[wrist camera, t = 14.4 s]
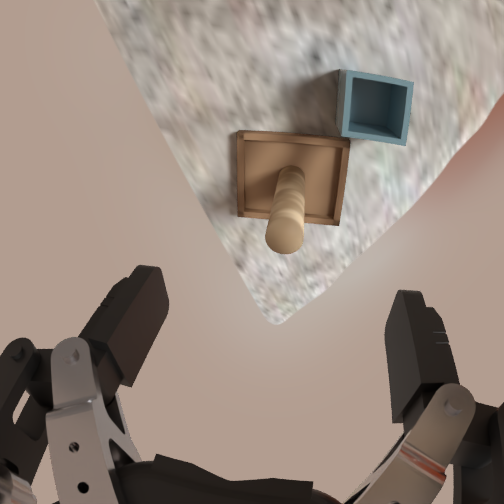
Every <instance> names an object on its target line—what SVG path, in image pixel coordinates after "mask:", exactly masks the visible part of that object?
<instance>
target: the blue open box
mask: <svg viewBox="0 0 504 504" xmlns="http://www.w3.org/2000/svg"><path fill="white" fill-rule="evenodd" d="M413 85H414V82H410V81H406V80H401V79H396V78H392V77H386V76H381V75H375V74H369V73H363V72H357V71H350V70H342V69H339V78H338V93H337V107H336V119H335V124H336V126H337V128H338V130H339V132H340V134H341V136H343V137H351V138H358V139H365V140H372V141H379V142H385V143H391V144H397V145H403V146H406V140H407V133H408V127H409V119H410V112H411V104H412V95H413Z"/></svg>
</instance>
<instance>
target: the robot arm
mask: <svg viewBox="0 0 504 504" xmlns="http://www.w3.org/2000/svg"><path fill="white" fill-rule="evenodd" d="M168 310H169V299H168V295H167V291H166V287H165V283H164V279H163V275H162V271H161V269H160V268H159V267H154V266H145V265H138V266H137V267H136V268H135V269H134V271H133V272H132V274H131V275H130V276H129V278H127V277H125V278H123V279H122V280H121V281H119V282H118V283H117V284H115V285H114V286H113V287H112V289H111V290H110V291H109V293H108V294H107V296H106V298H104V300H103V302H102V303H101V305H100V306H99V307H98V308H97V310H96V311H95V313H94V314H93V315H92V317H91V318H90V320H89V322H88V323H87V324H86V326H85V327H84V329H83V330H82V332H81V333H80V335H79V336H78V337H71V338H67V339H65V340H63V341H61V342H60V343H59V344H57V346H56V347H55V348H54V349H36V348H35V346H34V345H33V343H32V342H31V341H30V340H29V339H27V338H18V339H16V340H14V341H12V342H11V343H10V344H9V345H8V346H7V347H6V348H5V350H4V351H3V353H2V354H1V356H0V504H37V499H36V497H35V495H33V494H32V489H31V484H32V482H33V479H34V476H35V474H36V472H37V469H38V466H39V464H40V462H41V459H42V457H43V454H44V452H45V450H46V447H47V445H48V444H49V450H50V457H51V463H52V469H53V474H54V479H55V484H56V489H57V493H58V498H59V501H57V502H55V503H53V504H431V503H432V502H433V500H434V499H435V497H436V496H437V494H438V493H439V491H440V490H441V488H442V486H443V484H444V482H445V480H446V475H445V474H444V473H445V470H446V468H447V466H448V464H453V470H454V497H453V504H504V402H503V404H502V405H501V406H500V407H499V408H497V407H493V406H489V405H485V404H481V403H478V402H475V400H474V398H473V396H472V394H471V393H470V391H469V390H468V389H466V388H465V387H463V386H462V385H460V383H459V379H458V375H457V370H456V366H455V363H454V359H453V355H452V351H451V348H450V345H449V344H448V343H449V341H448V337H447V334H446V330H445V327H444V324H443V321H442V318H441V317H440V316H439V315H438V313H437V312H436V311H435V309H434V308H433V307H426V305H425V302H424V298H423V295H422V293H421V292H420V291H411V290H398V292H397V294H396V297H395V300H394V302H393V305H392V308H391V311H390V314H389V317H388V320H387V322H386V327H385V346H386V354H387V363H388V373H389V383H390V393H391V408H392V423H403V425H404V432H403V433H402V434H401V436H400V437H399V438H398V440H397V441H396V443H395V444H394V445H393V446H392V448H391V449H390V450H389V452H388V453H387V454H386V456H385V457H384V458H383V460H382V461H381V462H380V463H379V464H378V465H377V467H376V468H375V469H374V470H373V472H372V473H371V474H370V475H369V476H368V477H367V478H366V479H365V481H364V482H362V483H361V484H360V486H359V487H358V488H357V489H356V490H355V491H354V492H353V493H352V494H351V495H350V496H349V497H348V498H347V499H346V500H345V502H343V503H340V502H339V501H338V500H336V499H335V498H333V497H331V496H330V495H328V494H326V493H323V492H321V491H318V490H315V489H312V488H313V482H312V481H297V480H286V479H277V478H269V479H257V480H244V481H229V480H226V479H223V478H221V477H219V476H217V475H215V474H213V473H210V472H208V471H206V470H204V469H202V468H200V467H198V466H196V465H194V464H192V463H188V462H184V461H181V460H177V459H173V458H170V457H166V456H162V455H159V454H156V456H155V459H154V461H142V460H141V458H140V455H139V453H138V452H137V449H136V447H135V446H134V444H133V442H132V440H131V437H130V434H129V432H128V428H127V424H126V421H125V418H124V414H123V411H122V407H121V403H120V399H119V395H118V393H117V389H118V387H119V385H120V384H122V385H125V386H128V387H132V385H133V383H134V381H135V379H136V377H137V375H138V373H139V371H140V369H141V367H142V365H143V363H144V361H145V358H146V356H147V354H148V352H149V350H150V348H151V346H152V344H153V342H154V340H155V338H156V336H157V334H158V332H159V330H160V328H161V326H162V324H163V322H164V320H165V319H166V316H167V314H168ZM25 390H26V391H27V392H28V394H29V395H30V396H29V398H28V400H27V402H26V404H25V406H24V408H23V410H22V412H21V414H20V416H19V418H18V420H17V422H16V424H14V423H13V418H12V417H13V412H14V410H15V408H16V406H17V404H18V402H19V400H20V398H21V397H22V395H23V393H24V391H25Z"/></svg>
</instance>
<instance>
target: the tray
mask: <svg viewBox="0 0 504 504" xmlns="http://www.w3.org/2000/svg"><path fill="white" fill-rule="evenodd" d="M350 143H351V142H350V140H349V139H347V138H338V137H330V136H320V135H310V134H298V133H285V132H270V131H250V130H239V131H238V132H237V201H238V217H248V218H260V219H269V217H270V213H271V208H272V204H273V200H274V195H275V191H276V186H277V182H278V178H279V173H280V171H281V170H282V169H283V168H284V167H286V166H290V165H293V166H297V167H299V168H300V169H302V171H303V172H304V174H305V206H304V223H314V224H324V225H334V226H339V222H340V216H341V210H342V203H343V197H344V190H345V183H346V175H347V168H348V160H349V151H350Z"/></svg>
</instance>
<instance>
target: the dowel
mask: <svg viewBox="0 0 504 504" xmlns="http://www.w3.org/2000/svg"><path fill="white" fill-rule="evenodd" d="M304 206H305V174H304V172H303V171H302V169H300V168H299V167H297V166H293V165H290V166H286V167H284V168H283V169H282V170H281V171H280V173H279V178H278V182H277V186H276V191H275V195H274V200H273V204H272V208H271V213H270V217H269V221H268V226H267V230H266V235H265V239H266V243H267V245H268V246H269V247H270V248H271V249H272V250H273V251H275V252H277V253H280V254H291V253H293V252H295V251H297V250H298V249H299V248H300V247H301V246H302V244H303V237H304Z"/></svg>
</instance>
